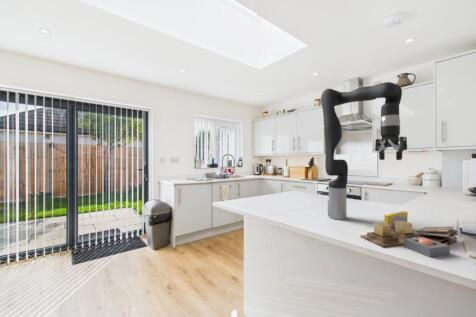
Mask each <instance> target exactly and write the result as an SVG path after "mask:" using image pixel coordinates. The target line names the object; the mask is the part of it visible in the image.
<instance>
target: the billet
mask: <svg viewBox="0 0 476 317" xmlns="http://www.w3.org/2000/svg"><path fill="white" fill-rule="evenodd" d="M395 232H396V233H399V234H402V235H404V236H407V235H412V233H413V223H412V222H409V221H407V222H405V221H395Z"/></svg>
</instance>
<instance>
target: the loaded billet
mask: <svg viewBox="0 0 476 317" xmlns="http://www.w3.org/2000/svg"><path fill="white" fill-rule="evenodd" d="M373 232H374V235H376V236H379V237H381V238H388V237H391V225H388V224H385V223H384V222H374V223H373Z"/></svg>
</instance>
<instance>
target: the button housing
mask: <svg viewBox="0 0 476 317" xmlns="http://www.w3.org/2000/svg"><path fill="white" fill-rule="evenodd" d="M419 238H426V239H428V238H427V237H424V236H420V237H416V238H406V239H404V245H403V248H406V249H409V250H412V251H413V252H416V253H419V254H421V255H424V256H426V257H428V258H434V257H435V258H436V257H442V256H449V255H450V254H451V253H450V252H451V249H450V245H448V244H446V243H442V242H440V241H436V240H433V239H431V240H432V241H433V245H429V246H428V245H425V244H422V243H419Z"/></svg>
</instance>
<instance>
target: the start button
mask: <svg viewBox="0 0 476 317" xmlns="http://www.w3.org/2000/svg"><path fill="white" fill-rule="evenodd" d="M426 238H427V237H424V238H419V243H422V244H425V245H428V246H429V245H433V241H434V240H433V239H430V238H427V239H426ZM432 240H433V241H432Z"/></svg>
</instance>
